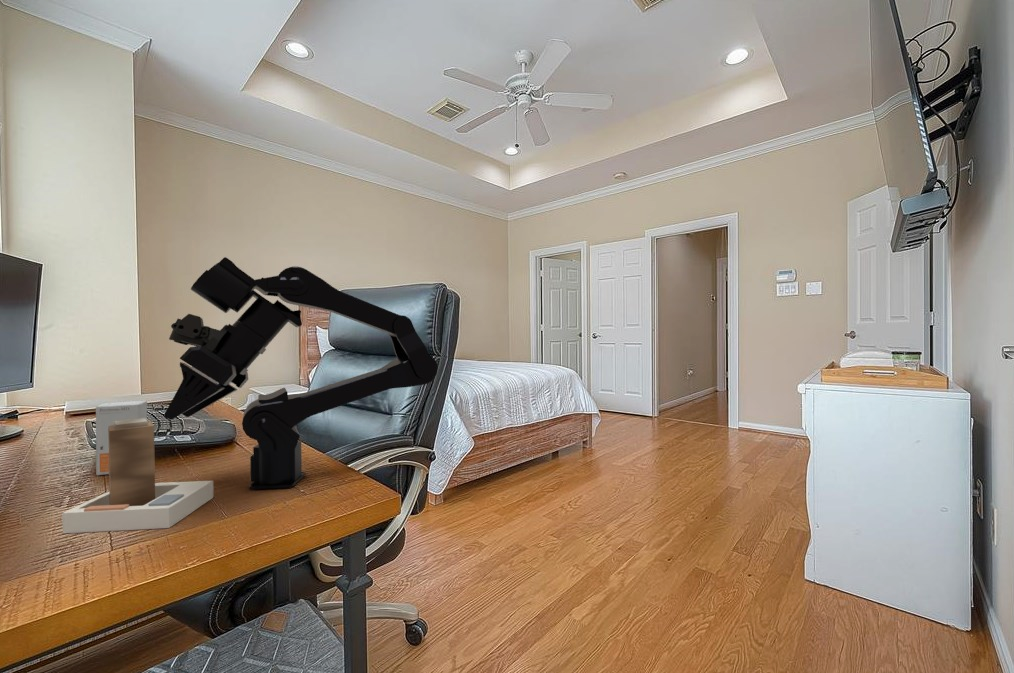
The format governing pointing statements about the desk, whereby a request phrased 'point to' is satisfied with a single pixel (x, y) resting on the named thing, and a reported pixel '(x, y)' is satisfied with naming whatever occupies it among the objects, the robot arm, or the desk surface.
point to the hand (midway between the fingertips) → (176, 416)
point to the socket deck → (139, 509)
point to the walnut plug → (131, 462)
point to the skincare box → (107, 417)
